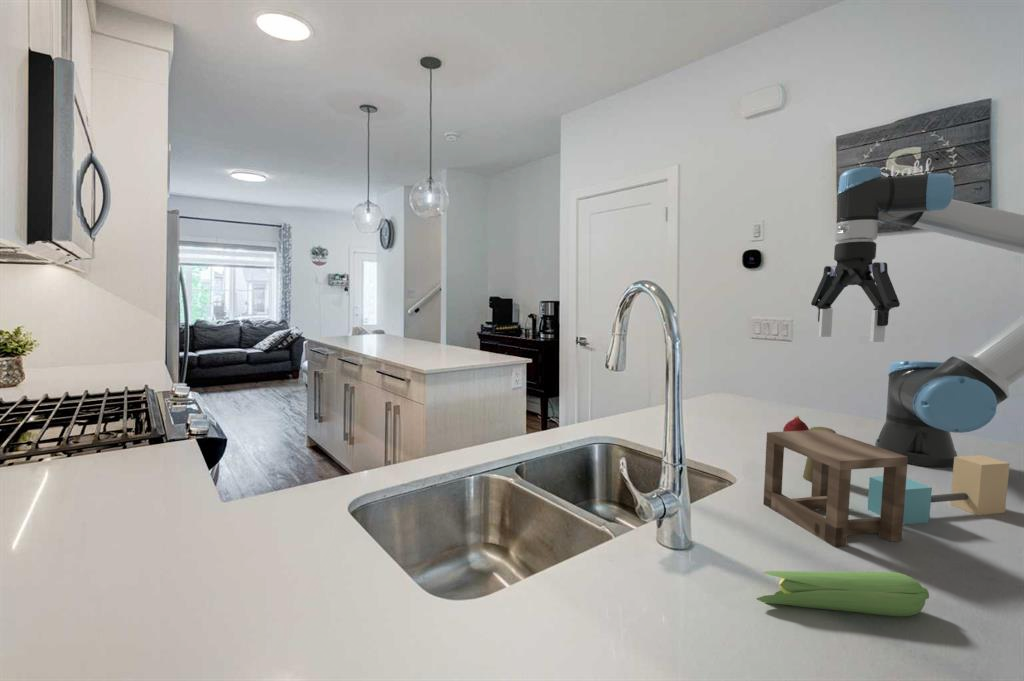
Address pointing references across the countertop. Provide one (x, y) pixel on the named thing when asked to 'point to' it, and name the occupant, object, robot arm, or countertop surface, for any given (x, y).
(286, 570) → the countertop surface
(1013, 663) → the countertop surface
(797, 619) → the countertop surface
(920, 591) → the edible corn
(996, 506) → the square-ended dumbbell
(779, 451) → the walnut bench
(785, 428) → the onion
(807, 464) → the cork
